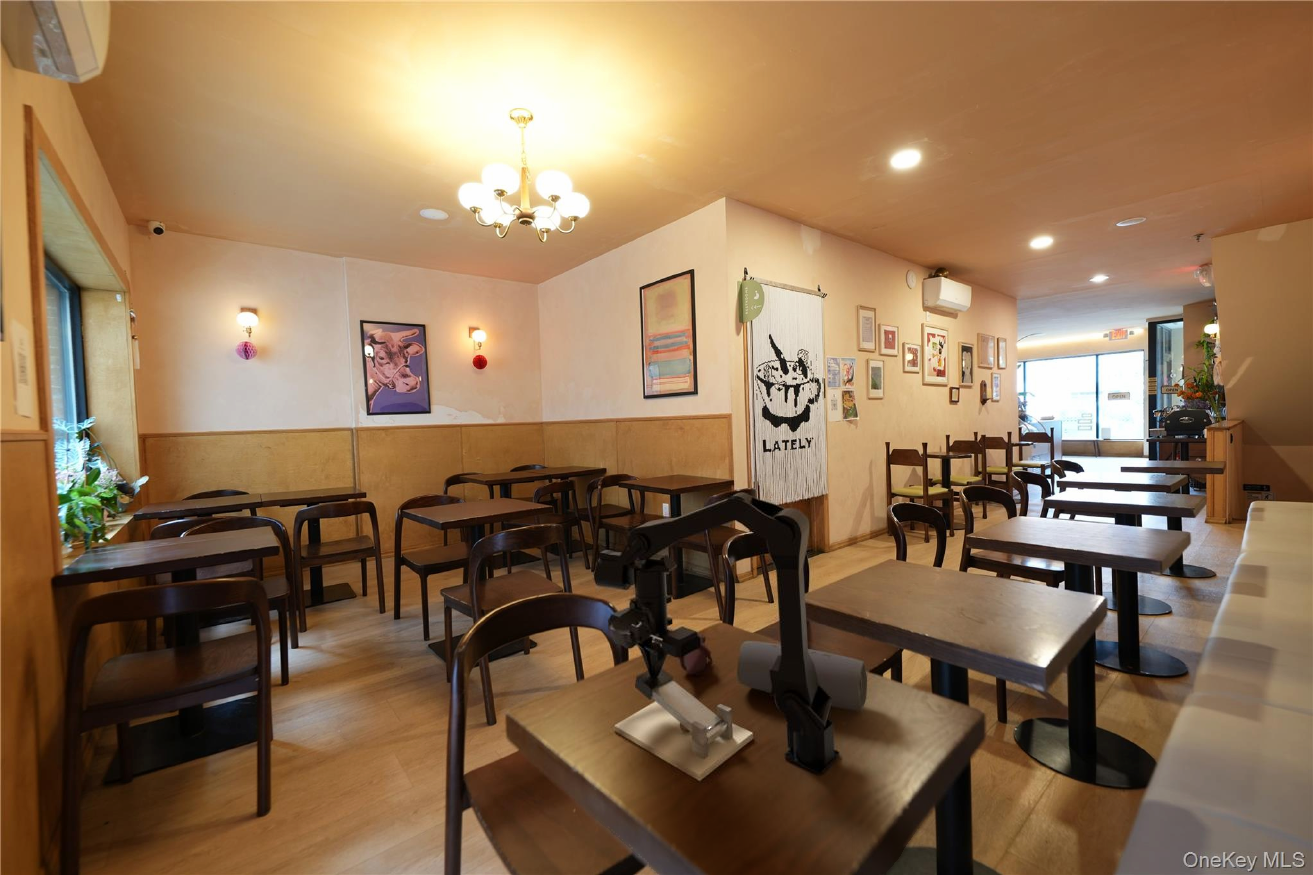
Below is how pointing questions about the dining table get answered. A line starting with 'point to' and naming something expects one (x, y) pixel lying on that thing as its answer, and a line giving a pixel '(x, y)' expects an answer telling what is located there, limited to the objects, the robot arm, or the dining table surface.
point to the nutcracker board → (683, 739)
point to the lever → (679, 703)
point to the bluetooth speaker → (832, 670)
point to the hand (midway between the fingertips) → (654, 676)
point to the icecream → (697, 660)
